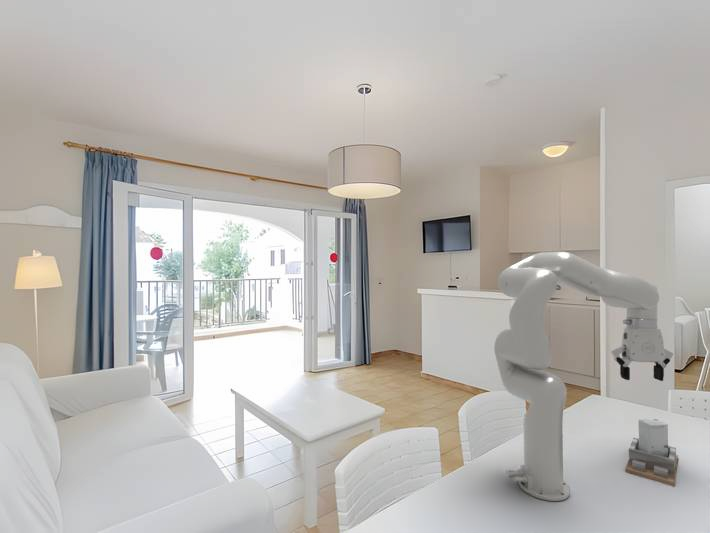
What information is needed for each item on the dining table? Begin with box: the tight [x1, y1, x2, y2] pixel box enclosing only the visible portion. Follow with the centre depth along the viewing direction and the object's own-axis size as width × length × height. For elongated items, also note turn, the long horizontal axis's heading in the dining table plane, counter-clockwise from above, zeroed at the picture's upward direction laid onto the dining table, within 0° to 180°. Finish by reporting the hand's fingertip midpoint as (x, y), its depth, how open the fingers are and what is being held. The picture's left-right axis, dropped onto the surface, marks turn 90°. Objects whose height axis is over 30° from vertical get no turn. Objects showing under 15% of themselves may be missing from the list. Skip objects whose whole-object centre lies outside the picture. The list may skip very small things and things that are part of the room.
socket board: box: [624, 437, 679, 487], centre depth 114 cm, size 20×11×5 cm, turn 137°
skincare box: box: [638, 418, 669, 458], centre depth 114 cm, size 6×4×12 cm
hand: (641, 379), depth 116 cm, fingers open, 9 cm apart
